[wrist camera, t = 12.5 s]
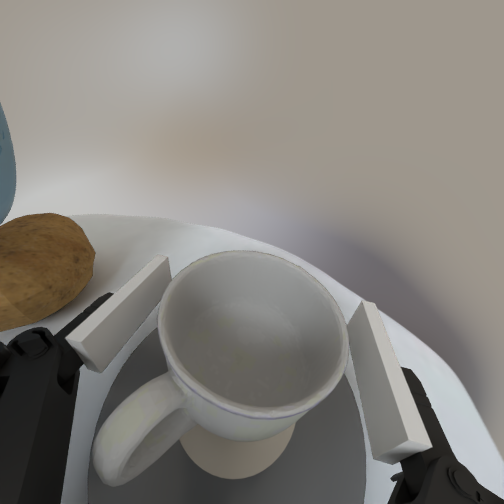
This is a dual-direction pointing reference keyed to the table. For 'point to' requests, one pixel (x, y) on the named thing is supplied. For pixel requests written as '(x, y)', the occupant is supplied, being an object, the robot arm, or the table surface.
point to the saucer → (242, 454)
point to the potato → (41, 267)
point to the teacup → (229, 360)
